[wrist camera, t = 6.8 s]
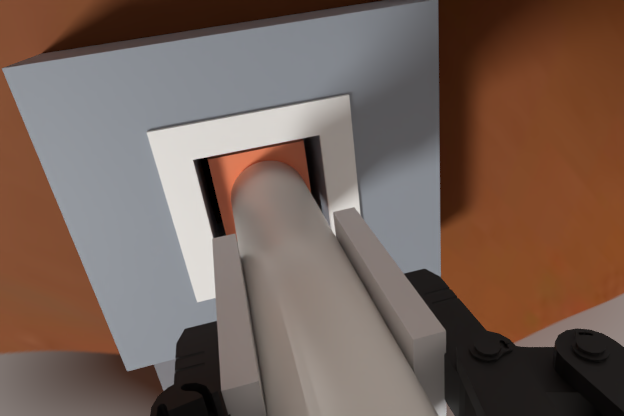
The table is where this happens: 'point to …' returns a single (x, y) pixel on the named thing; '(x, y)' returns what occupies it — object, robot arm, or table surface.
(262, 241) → the stylus
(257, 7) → the table surface
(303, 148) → the orange rectangular tile
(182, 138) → the panel
